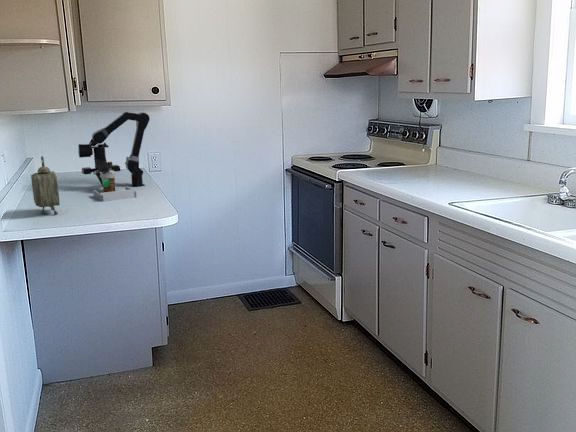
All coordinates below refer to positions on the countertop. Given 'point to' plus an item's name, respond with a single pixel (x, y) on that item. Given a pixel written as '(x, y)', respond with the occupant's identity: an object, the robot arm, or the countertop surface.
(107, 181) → the food container
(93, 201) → the countertop surface
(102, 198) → the frame
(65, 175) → the countertop surface
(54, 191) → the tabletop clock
